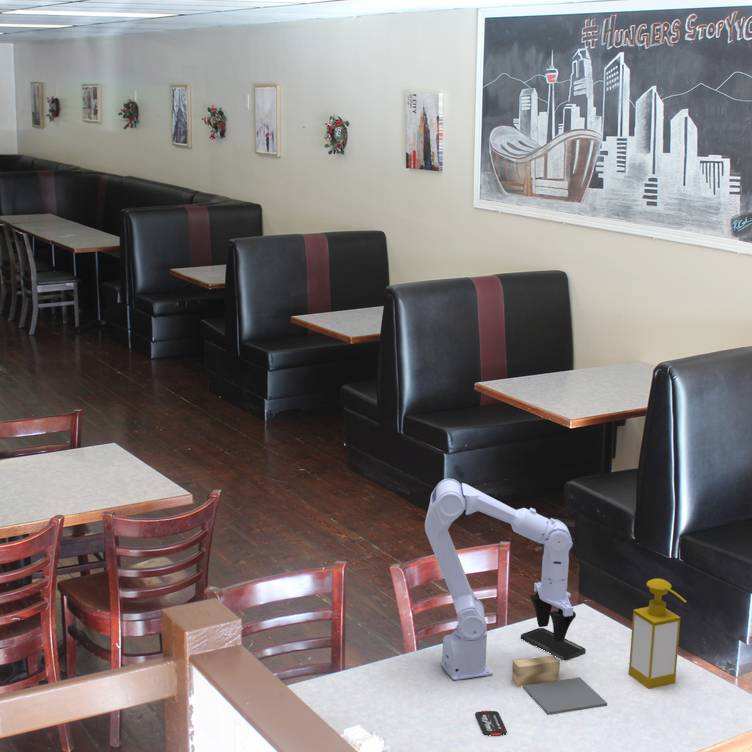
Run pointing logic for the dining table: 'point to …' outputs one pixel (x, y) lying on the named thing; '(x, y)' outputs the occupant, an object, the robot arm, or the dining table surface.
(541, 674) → the oak domino
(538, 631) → the phone
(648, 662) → the soap bottle
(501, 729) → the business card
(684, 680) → the dining table surface
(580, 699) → the rubber mat
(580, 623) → the dining table surface
